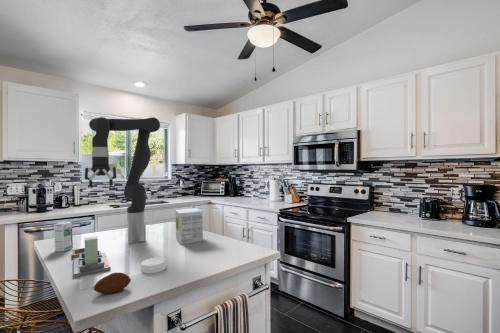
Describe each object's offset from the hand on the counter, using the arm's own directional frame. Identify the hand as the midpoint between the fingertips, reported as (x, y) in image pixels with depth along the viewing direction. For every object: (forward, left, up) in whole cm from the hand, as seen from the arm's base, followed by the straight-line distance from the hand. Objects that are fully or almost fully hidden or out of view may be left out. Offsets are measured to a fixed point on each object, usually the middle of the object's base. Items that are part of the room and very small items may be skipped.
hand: (101, 187), depth 140 cm
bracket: (+8, +1, -33) cm, 34 cm away
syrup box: (+17, -15, -33) cm, 40 cm away
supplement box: (-44, +8, -33) cm, 56 cm away
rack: (+6, +21, -33) cm, 40 cm away
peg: (+6, +27, -32) cm, 42 cm away
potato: (+1, +54, -33) cm, 64 cm away
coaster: (-16, +41, -34) cm, 55 cm away
